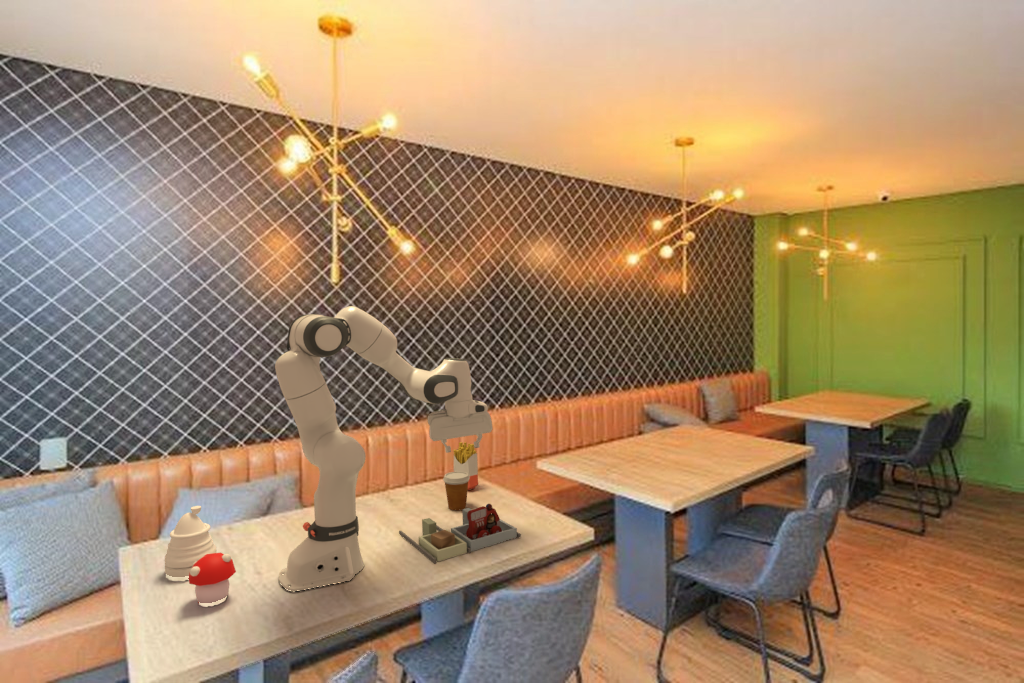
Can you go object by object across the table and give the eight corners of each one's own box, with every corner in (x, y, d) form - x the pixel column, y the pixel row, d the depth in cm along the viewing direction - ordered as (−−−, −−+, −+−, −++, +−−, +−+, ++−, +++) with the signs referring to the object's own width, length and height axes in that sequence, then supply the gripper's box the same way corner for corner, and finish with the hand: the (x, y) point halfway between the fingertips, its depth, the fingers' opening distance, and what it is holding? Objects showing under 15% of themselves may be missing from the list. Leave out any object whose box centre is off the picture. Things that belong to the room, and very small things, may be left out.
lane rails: (434, 563, 161) (434, 559, 161) (399, 534, 182) (399, 530, 182) (520, 537, 178) (520, 533, 178) (479, 513, 199) (479, 510, 199)
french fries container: (468, 492, 221) (467, 447, 220) (453, 486, 229) (451, 442, 228) (478, 490, 224) (477, 445, 223) (462, 483, 232) (461, 440, 231)
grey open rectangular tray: (470, 551, 169) (470, 531, 168) (443, 532, 183) (443, 514, 183) (516, 537, 178) (516, 519, 177) (487, 520, 192) (487, 503, 192)
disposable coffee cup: (472, 510, 202) (471, 477, 201) (445, 513, 200) (444, 480, 199) (468, 501, 211) (467, 470, 210) (442, 504, 209) (441, 472, 208)
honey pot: (220, 557, 169) (216, 498, 167) (214, 576, 157) (210, 512, 155) (170, 565, 164) (166, 504, 163) (160, 585, 152) (156, 520, 151)
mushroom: (179, 611, 139) (176, 564, 138) (205, 589, 149) (202, 544, 149) (221, 611, 138) (219, 564, 137) (245, 589, 149) (242, 544, 148)
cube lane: (437, 561, 163) (436, 541, 162) (412, 541, 177) (411, 522, 177) (466, 552, 168) (466, 533, 167) (439, 533, 182) (439, 515, 182)
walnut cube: (441, 555, 166) (441, 539, 166) (431, 550, 170) (431, 534, 170) (455, 550, 170) (454, 534, 170) (444, 545, 174) (444, 529, 173)
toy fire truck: (506, 535, 180) (505, 503, 179) (476, 548, 171) (475, 514, 171) (492, 529, 185) (491, 498, 184) (462, 541, 176) (461, 508, 176)
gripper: (428, 414, 174) (432, 457, 176) (492, 405, 181) (495, 447, 182) (425, 410, 180) (428, 452, 182) (486, 401, 187) (490, 442, 188)
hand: (462, 449), depth 182 cm, fingers open, 8 cm apart
